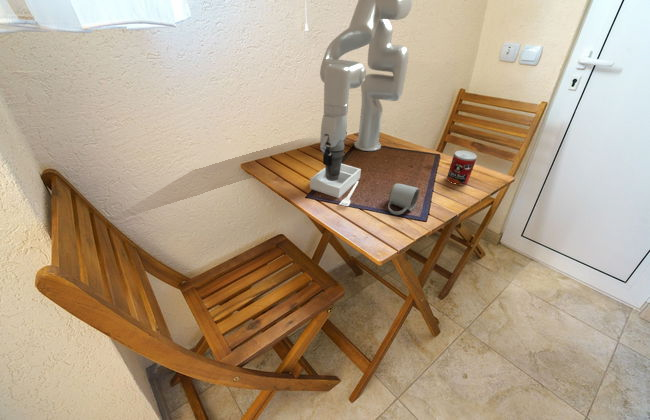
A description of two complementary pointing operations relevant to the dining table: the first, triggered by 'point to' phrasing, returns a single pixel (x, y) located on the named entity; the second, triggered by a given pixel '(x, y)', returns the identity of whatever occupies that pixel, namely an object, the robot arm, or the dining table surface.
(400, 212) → the ceramic mug
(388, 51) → the robot arm
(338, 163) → the beverage cup
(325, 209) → the dining table surface
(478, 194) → the dining table surface
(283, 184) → the dining table surface
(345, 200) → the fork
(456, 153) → the canned food
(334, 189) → the divided tray
